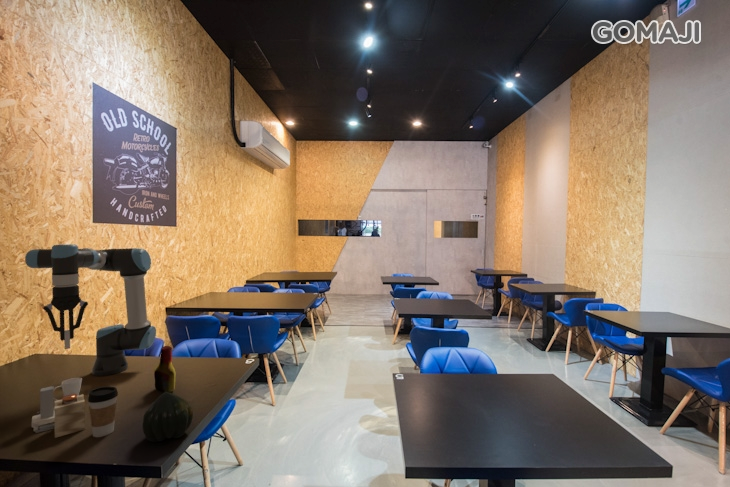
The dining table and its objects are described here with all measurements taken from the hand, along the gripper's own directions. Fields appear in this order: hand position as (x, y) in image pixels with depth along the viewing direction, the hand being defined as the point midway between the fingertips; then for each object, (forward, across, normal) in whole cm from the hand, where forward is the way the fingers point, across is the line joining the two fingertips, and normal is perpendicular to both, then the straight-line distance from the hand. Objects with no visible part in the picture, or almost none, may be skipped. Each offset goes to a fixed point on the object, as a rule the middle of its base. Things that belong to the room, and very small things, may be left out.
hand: (67, 347), depth 129 cm
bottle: (+28, -33, -4) cm, 44 cm away
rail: (+27, +6, -5) cm, 28 cm away
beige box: (+27, 0, +9) cm, 29 cm away
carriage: (+27, +6, 0) cm, 28 cm away
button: (+22, 0, +9) cm, 24 cm away
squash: (+27, -24, +39) cm, 53 cm away
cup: (+28, 0, -22) cm, 35 cm away
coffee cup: (+27, -8, +21) cm, 35 cm away
